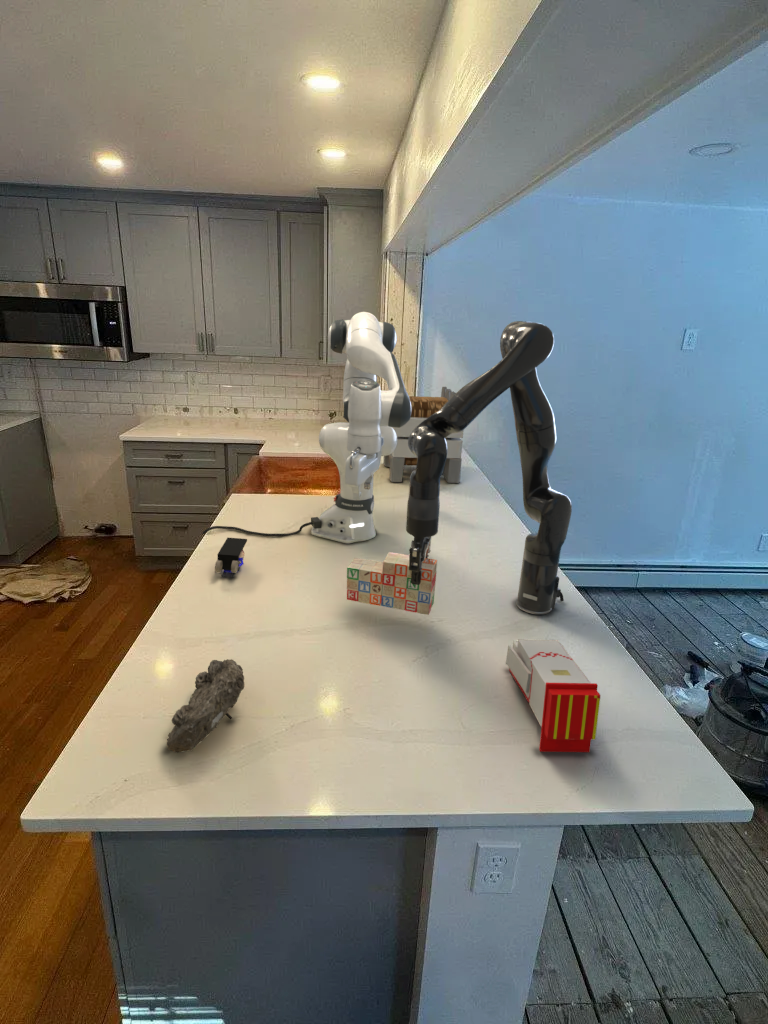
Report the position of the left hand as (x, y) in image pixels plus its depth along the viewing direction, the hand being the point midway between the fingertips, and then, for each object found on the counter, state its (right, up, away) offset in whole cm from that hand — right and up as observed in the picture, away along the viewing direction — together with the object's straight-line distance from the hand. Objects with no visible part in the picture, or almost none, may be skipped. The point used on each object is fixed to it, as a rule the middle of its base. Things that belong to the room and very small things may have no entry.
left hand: (362, 493), depth 154 cm
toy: (+38, -44, -38) cm, 70 cm away
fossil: (-27, -44, -46) cm, 69 cm away
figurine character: (-39, -22, +13) cm, 47 cm away
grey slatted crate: (+23, +14, +121) cm, 124 cm away
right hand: (+14, -21, -16) cm, 30 cm away
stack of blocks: (+7, -28, -12) cm, 31 cm away
